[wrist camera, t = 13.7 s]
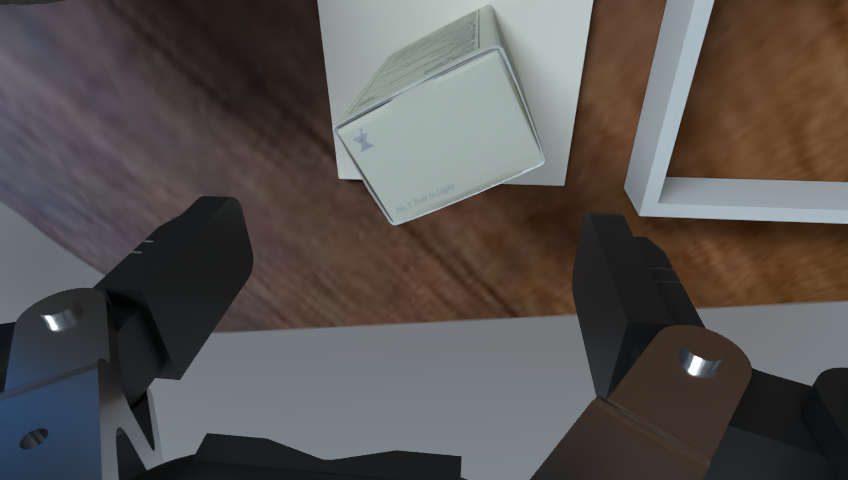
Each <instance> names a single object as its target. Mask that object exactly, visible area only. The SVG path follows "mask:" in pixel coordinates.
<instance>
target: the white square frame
mask: <svg viewBox="0 0 848 480" xmlns="http://www.w3.org/2000/svg"><path fill="white" fill-rule="evenodd" d="M713 3H714V0H667V2H666V7H665V11H664V15H663V20H662V24H661V28H660V33H659V37H658V42H657V46H656V50H655V55H654V59H653V63H652V68H651V72H650V76H649V81H648V85H647V89H646V94H645V98H644V102H643V107H642V111H641V115H640V120H639V124H638V128H637V133H636V137H635V141H634V146H633V150H632V155H631V159H630V163H629V168H628V172H627V176H626V181H625V185H624V189H625V191H626V193H627V194H628V196H629V198H630V200H631V202H632V204H633V205H634V207H635V209H636V211H637V213H638V215H639V216H652V217H680V218H707V219H734V220H761V221H789V222H816V223H843V224H848V182H819V181H785V180H751V179H716V178H682V177H665V176H666V173H667V169H668V165H669V162H670V158H671V154H672V151H673V147H674V144H675V140H676V136H677V133H678V129H679V126H680V122H681V118H682V115H683V111H684V108H685V104H686V100H687V97H688V93H689V90H690V86H691V82H692V79H693V75H694V72H695V68H696V64H697V61H698V57H699V54H700V50H701V46H702V43H703V39H704V36H705V32H706V28H707V25H708V21H709V18H710V14H711V10H712V7H713Z"/></svg>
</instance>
